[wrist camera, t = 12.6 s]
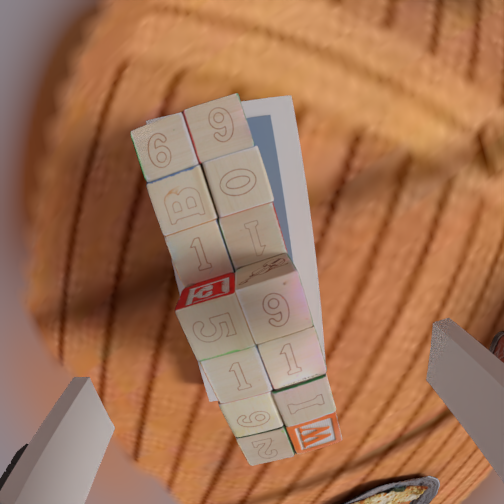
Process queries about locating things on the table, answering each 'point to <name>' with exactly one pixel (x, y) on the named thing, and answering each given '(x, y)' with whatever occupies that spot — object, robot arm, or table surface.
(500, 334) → the lighter
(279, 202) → the base board
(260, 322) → the stack of blocks
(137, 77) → the table surface
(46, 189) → the table surface
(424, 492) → the food plate
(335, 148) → the table surface
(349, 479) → the table surface
